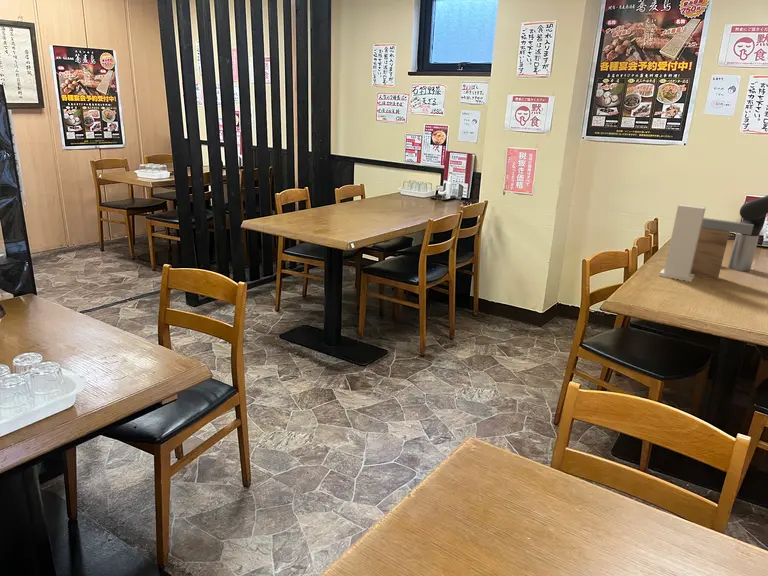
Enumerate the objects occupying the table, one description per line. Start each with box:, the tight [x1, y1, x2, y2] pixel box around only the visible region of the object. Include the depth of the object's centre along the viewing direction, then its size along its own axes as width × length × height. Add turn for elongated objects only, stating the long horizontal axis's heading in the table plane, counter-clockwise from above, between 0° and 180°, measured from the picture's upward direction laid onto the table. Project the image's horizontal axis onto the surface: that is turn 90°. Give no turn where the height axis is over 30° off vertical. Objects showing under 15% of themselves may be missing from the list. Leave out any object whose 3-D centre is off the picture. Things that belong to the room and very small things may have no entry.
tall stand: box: [659, 203, 706, 283], centre depth 249 cm, size 9×13×32 cm
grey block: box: [701, 217, 754, 235], centre depth 248 cm, size 4×24×4 cm, turn 55°
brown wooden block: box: [691, 228, 730, 281], centre depth 255 cm, size 6×18×22 cm, turn 55°
